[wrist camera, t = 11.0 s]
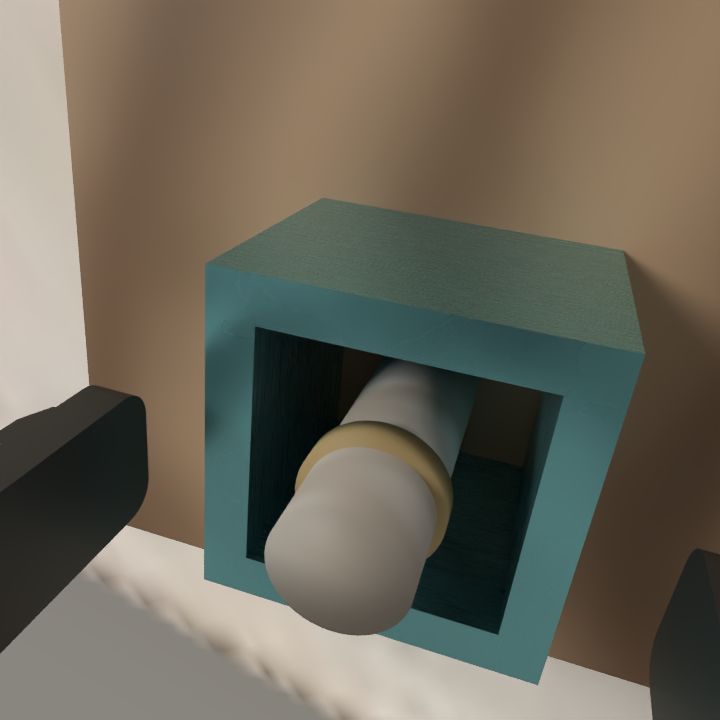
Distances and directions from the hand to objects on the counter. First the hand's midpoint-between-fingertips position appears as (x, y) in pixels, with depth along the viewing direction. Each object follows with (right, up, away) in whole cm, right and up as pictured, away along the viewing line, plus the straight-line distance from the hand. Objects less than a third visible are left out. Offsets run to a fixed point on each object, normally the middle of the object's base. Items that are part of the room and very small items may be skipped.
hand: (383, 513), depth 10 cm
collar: (+1, +2, +5) cm, 6 cm away
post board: (+2, +3, +7) cm, 8 cm away
